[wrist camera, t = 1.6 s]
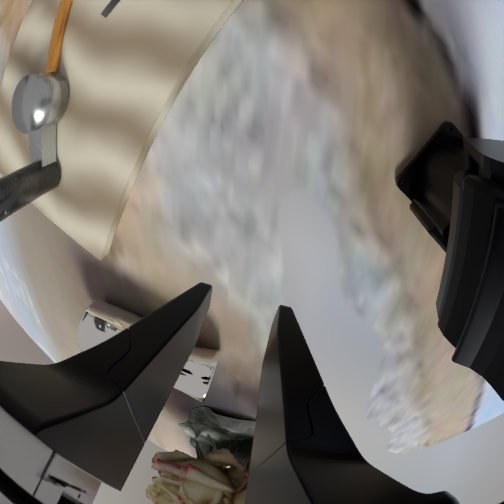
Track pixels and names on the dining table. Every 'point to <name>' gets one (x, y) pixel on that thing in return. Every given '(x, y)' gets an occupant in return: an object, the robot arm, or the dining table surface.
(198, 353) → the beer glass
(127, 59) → the dial board
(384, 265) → the dining table surface
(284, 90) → the dining table surface
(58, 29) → the cam lever
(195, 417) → the rose bouquet
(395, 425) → the dining table surface
